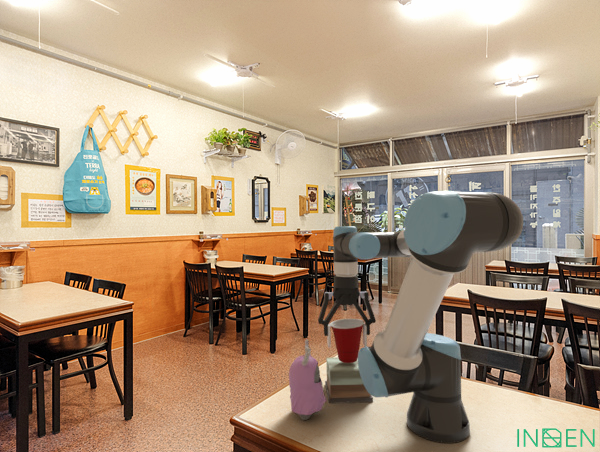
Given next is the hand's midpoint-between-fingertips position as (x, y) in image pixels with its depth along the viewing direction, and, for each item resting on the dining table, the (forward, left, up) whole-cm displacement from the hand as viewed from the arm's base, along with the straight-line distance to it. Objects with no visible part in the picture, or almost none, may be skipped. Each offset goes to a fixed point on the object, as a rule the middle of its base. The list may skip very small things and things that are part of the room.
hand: (347, 345), depth 116 cm
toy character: (-13, +13, -15) cm, 24 cm away
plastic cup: (0, 0, -5) cm, 5 cm away
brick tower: (0, 0, -15) cm, 15 cm away
